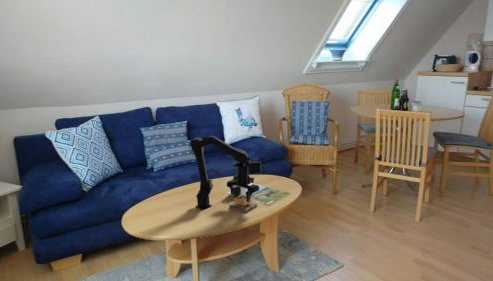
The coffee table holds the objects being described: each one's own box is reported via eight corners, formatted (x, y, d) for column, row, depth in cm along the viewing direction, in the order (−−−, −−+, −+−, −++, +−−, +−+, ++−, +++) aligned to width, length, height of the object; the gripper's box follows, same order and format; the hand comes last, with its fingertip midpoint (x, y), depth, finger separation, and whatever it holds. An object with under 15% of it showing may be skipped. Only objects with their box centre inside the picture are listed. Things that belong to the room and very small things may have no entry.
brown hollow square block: (244, 206, 186) (244, 200, 185) (234, 203, 190) (234, 198, 189) (251, 201, 191) (251, 196, 191) (241, 199, 195) (241, 194, 195)
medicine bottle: (230, 195, 209) (230, 176, 206) (236, 191, 215) (235, 173, 212) (240, 197, 206) (240, 178, 203) (246, 193, 212) (245, 174, 209)
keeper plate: (246, 212, 184) (246, 203, 183) (229, 207, 191) (228, 198, 189) (257, 206, 192) (256, 197, 190) (240, 201, 199) (239, 193, 197)
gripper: (264, 172, 188) (264, 199, 191) (237, 167, 199) (238, 192, 202) (253, 178, 179) (253, 206, 182) (225, 172, 190) (226, 198, 193)
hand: (242, 200), depth 190 cm, fingers closed on brown hollow square block, 7 cm apart
